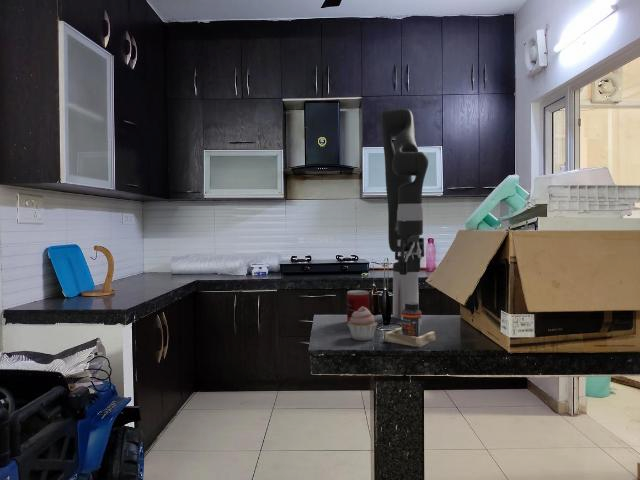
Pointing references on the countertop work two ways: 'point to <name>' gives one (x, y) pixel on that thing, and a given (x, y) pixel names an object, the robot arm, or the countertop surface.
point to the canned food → (356, 301)
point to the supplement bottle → (411, 320)
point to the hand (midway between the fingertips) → (410, 273)
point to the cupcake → (362, 325)
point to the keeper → (409, 338)
